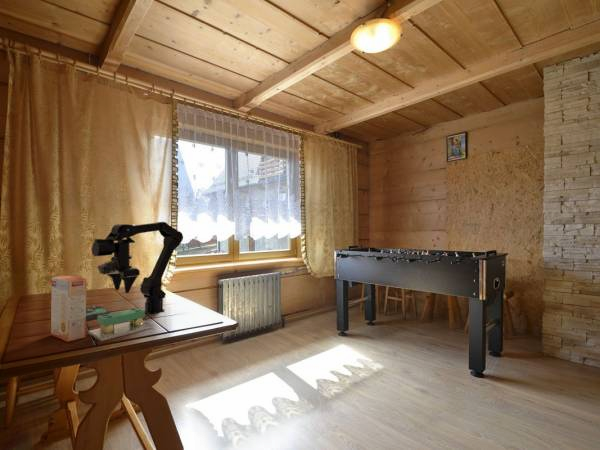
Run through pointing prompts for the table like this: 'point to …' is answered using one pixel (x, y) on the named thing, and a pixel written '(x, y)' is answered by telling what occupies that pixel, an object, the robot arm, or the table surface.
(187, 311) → the table surface
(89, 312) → the disk drive
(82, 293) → the cracker box
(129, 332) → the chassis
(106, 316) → the board
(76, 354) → the table surface
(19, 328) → the table surface
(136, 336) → the table surface
